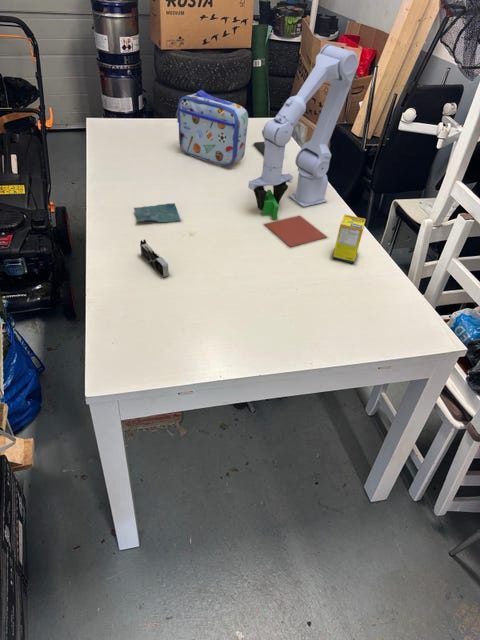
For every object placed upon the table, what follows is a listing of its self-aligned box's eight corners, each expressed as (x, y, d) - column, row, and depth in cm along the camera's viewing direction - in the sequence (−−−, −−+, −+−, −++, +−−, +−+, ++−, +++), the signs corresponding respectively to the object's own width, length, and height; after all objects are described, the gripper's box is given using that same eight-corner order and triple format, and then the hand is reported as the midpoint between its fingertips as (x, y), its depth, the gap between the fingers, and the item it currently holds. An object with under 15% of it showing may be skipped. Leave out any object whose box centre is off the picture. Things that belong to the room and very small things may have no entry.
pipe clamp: (257, 203, 148) (259, 189, 145) (269, 202, 148) (270, 189, 145) (264, 220, 139) (266, 206, 136) (276, 219, 140) (278, 206, 137)
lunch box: (171, 152, 174) (170, 89, 159) (188, 144, 181) (188, 83, 166) (232, 172, 164) (236, 107, 149) (247, 163, 171) (253, 100, 156)
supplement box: (356, 253, 129) (366, 218, 122) (353, 264, 125) (363, 228, 117) (335, 248, 130) (344, 213, 123) (332, 259, 126) (340, 223, 119)
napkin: (299, 216, 143) (299, 215, 143) (326, 237, 134) (326, 236, 134) (264, 224, 137) (264, 223, 137) (290, 247, 129) (290, 246, 129)
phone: (270, 141, 187) (284, 155, 177) (269, 143, 188) (284, 157, 177) (253, 142, 185) (266, 156, 174) (252, 144, 185) (266, 158, 175)
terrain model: (175, 208, 141) (175, 202, 139) (180, 221, 135) (180, 216, 134) (132, 212, 137) (132, 206, 136) (137, 226, 132) (136, 220, 131)
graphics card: (141, 256, 121) (135, 242, 117) (149, 252, 122) (143, 237, 118) (163, 279, 114) (158, 264, 110) (172, 273, 115) (167, 259, 111)
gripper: (285, 155, 140) (279, 197, 149) (244, 162, 134) (241, 205, 143) (299, 164, 135) (292, 206, 144) (257, 172, 129) (252, 215, 138)
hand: (267, 206), depth 143 cm, fingers closed on pipe clamp, 5 cm apart
